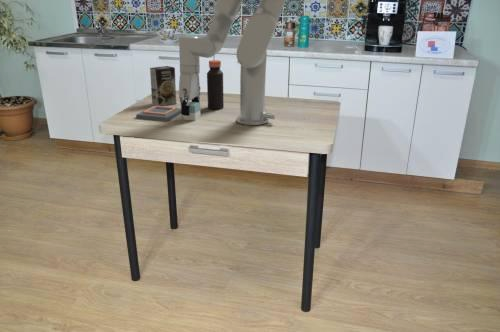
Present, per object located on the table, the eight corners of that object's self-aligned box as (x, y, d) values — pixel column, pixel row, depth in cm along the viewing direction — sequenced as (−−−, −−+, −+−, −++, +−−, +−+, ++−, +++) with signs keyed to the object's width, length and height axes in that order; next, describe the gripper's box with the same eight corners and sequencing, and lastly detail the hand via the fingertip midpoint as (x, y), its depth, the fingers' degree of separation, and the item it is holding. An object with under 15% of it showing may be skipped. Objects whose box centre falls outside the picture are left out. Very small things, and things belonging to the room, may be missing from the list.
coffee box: (159, 107, 204) (156, 69, 197) (151, 104, 208) (149, 67, 202) (177, 103, 209) (175, 67, 203) (169, 101, 214) (167, 65, 207)
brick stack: (200, 117, 189) (199, 102, 187) (195, 120, 185) (194, 105, 182) (189, 116, 191) (188, 101, 188) (183, 119, 186) (183, 104, 184)
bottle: (221, 110, 199) (220, 62, 192) (206, 109, 200) (204, 62, 193) (225, 106, 205) (224, 59, 198) (210, 105, 206) (208, 59, 199)
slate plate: (183, 112, 196) (183, 106, 195) (168, 121, 183) (167, 115, 182) (153, 109, 200) (153, 104, 199) (136, 118, 187) (136, 112, 186)
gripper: (190, 64, 189) (191, 106, 195) (170, 72, 174) (172, 116, 180) (207, 66, 187) (207, 107, 193) (189, 73, 172) (190, 118, 178)
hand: (190, 112), depth 187 cm, fingers open, 9 cm apart
